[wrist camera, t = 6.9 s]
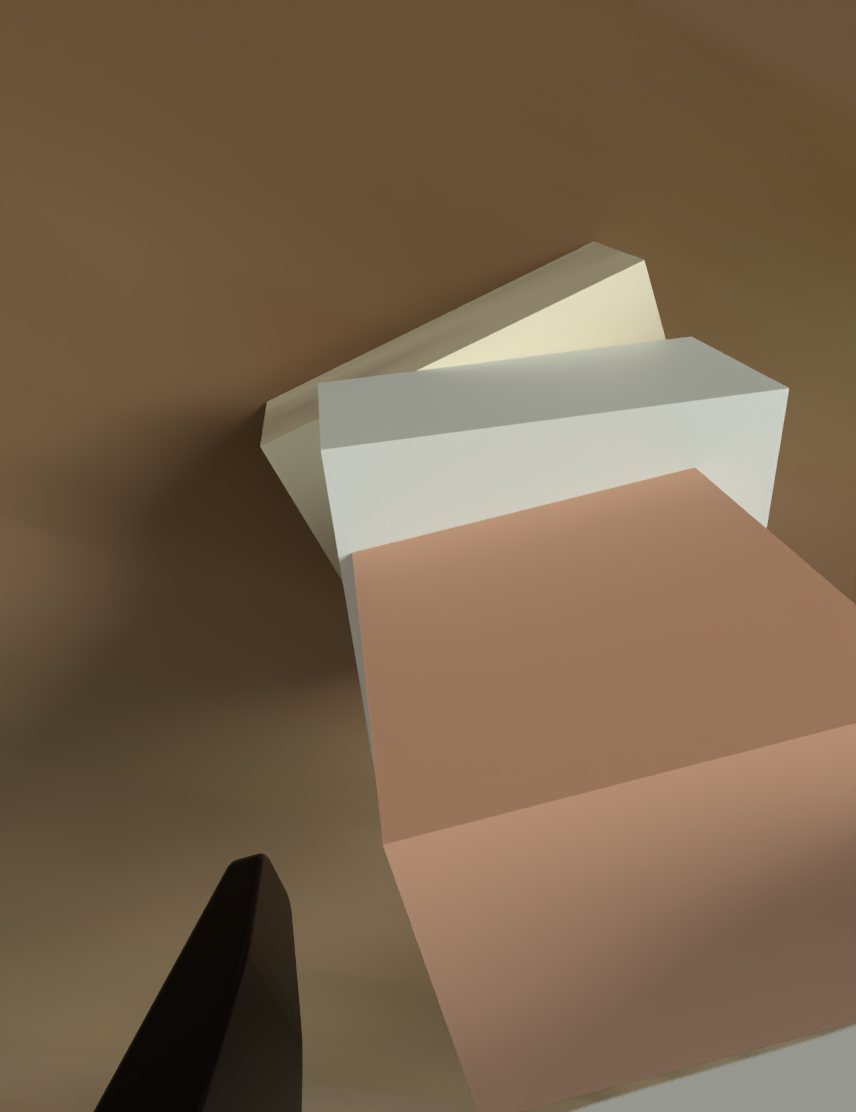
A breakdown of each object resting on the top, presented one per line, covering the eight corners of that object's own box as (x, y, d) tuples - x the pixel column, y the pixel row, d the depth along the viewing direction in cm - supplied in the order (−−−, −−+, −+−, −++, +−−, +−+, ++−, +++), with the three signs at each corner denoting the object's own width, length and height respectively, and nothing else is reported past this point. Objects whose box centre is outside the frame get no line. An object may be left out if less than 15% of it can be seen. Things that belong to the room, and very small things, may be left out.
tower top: (663, 638, 16) (732, 736, 13) (366, 685, 15) (378, 795, 13) (692, 336, 13) (788, 387, 10) (317, 382, 12) (320, 449, 10)
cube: (694, 467, 11) (962, 695, 6) (700, 724, 13) (893, 1012, 9) (352, 553, 10) (381, 844, 6) (423, 795, 13) (481, 1122, 9)
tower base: (670, 521, 18) (731, 585, 16) (410, 639, 19) (427, 719, 16) (584, 238, 15) (644, 260, 12) (268, 394, 15) (260, 446, 13)
